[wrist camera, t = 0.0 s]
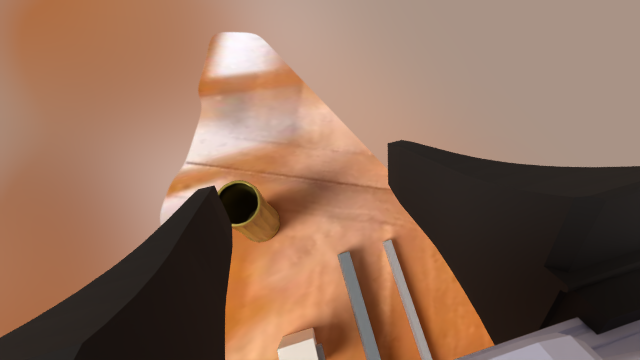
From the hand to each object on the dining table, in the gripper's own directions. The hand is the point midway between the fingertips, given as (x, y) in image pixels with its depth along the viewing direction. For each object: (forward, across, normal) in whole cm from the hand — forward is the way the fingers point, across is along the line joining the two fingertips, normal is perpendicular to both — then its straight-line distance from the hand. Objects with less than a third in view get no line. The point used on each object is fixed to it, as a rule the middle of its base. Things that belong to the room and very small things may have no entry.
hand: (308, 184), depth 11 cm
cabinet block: (+11, +5, +33) cm, 35 cm away
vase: (+25, +7, +21) cm, 34 cm away
